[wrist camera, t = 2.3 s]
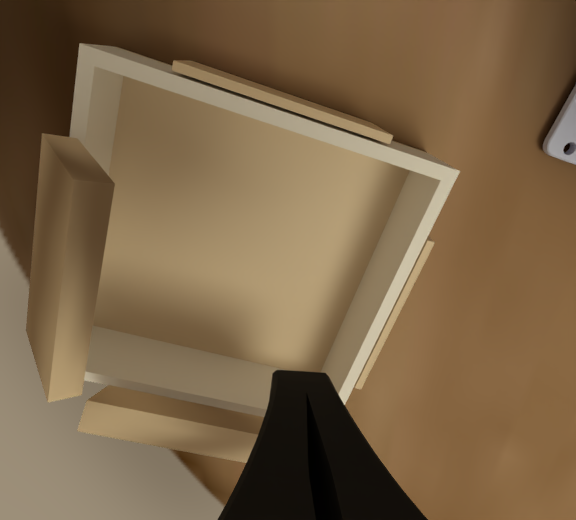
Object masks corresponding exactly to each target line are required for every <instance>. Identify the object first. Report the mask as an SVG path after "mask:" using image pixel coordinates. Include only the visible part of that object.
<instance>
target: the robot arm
mask: <svg viewBox="0 0 576 520" xmlns="http://www.w3.org/2000/svg"><path fill="white" fill-rule="evenodd" d="M568 143H570V147H569V149H568V151H567V152H565V153H564V151H563V149H564V147H565V145H566V144H568ZM543 150H544V152H545V153H546V154H548V155H550V156H553V157H555V158H558V159H561V160H564V161H567V162H569V163H572V164H575V165H576V84H575V86H574V88H573V90H572V92H571V93H570V95H569V97H568V99H567V101H566V102H565V104H564V106H563V108H562V110H561V111H560V113H559V115H558V117H557V118H556V120H555V122H554V124H553V126H552V127H551V129H550V131H549V133H548V135H547V136H546V138H545V140H544V143H543ZM218 520H428V519H427V518H426V517H425V516H424V515H423V514H422V513H421V511H420V510H419V509H418V508H417V507H416V505H415V504H414V503H413V502H412V501H411V499H410V498H409V497H408V496H407V495H406V493H405V492H404V491H403V490H402V488H401V487H400V486H399V485H398V483H397V482H396V481H395V479H394V478H393V477H392V475H391V474H390V473H389V471H388V470H387V469H386V467H385V466H384V465H383V463H382V462H381V461H380V459H379V458H378V456H377V455H376V453H375V452H374V451H373V449H372V448H371V446H370V445H369V443H368V442H367V440H366V439H365V437H364V436H363V434H362V433H361V431H360V429H359V428H358V426H357V425H356V423H355V422H354V420H353V418H352V417H351V415H350V414H349V412H348V410H347V408H346V407H345V405H344V403H343V402H342V400H341V398H340V396H339V395H338V393H337V391H336V389H335V387H334V385H333V384H332V382H331V380H330V378H329V376H328V375H327V374H326V373H322V372H306V371H290V370H276V371H275V372H273V373H272V381H271V389H270V397H269V403H268V407H267V410H266V413H265V416H264V419H263V422H262V425H261V428H260V431H259V434H258V437H257V439H256V442H255V444H254V446H253V449H252V451H251V453H250V456H249V458H248V461H247V463H246V465H245V468H244V470H243V472H242V474H241V476H240V478H239V480H238V482H237V484H236V486H235V488H234V490H233V492H232V494H231V496H230V498H229V500H228V502H227V504H226V506H225V507H224V509H223V511H222V513H221V515H220V516H219V518H218Z"/></svg>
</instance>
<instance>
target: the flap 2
mask: <svg viewBox="0 0 576 520" xmlns="http://www.w3.org/2000/svg"><path fill="white" fill-rule="evenodd" d="M263 419H264V417H261V416H256V415H251V414H247V413H242V412H237V411H232V410H227V409H222V408H218V407H213V406H208V405H203V404H198V403H194V402H189V401H184V400H179V399H174V398H170V397H165V396H160V395H155V394H150V393H145V392H141V391H136V390H131V389H126V388H121V387H117V386H112V385H108V386H107V387H105V388H104V389H103V390H101V391H100V392H98V393H97V394H95V395H94V396H93V397H91V398H90V399H88V400H87V401H86V405H85V408H84V411H83V414H82V417H81V421H80V424H79V427H78V430H77V431H79V432H84V433H89V434H94V435H100V436H105V437H110V438H116V439H121V440H127V441H132V442H137V443H143V444H148V445H153V446H158V447H164V448H169V449H174V450H180V451H185V452H190V453H196V454H201V455H206V456H212V457H217V458H222V459H228V460H233V461H239V462H244V463H247V461H248V458H249V456H250V453H251V451H252V449H253V446H254V444H255V442H256V439H257V437H258V434H259V431H260V428H261V425H262V422H263Z"/></svg>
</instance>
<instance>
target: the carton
mask: <svg viewBox="0 0 576 520" xmlns="http://www.w3.org/2000/svg"><path fill="white" fill-rule="evenodd" d="M69 137H71V138H78V140H79V141H80V142H81V143H82V144H83V146H84V147H85V148H86V149H87V151H88V152H89V153H90V154H91V155H92V157H93V158H94V159H95V160H96V161H97V163H98V164H99V165H100V166H101V167H102V169H103V170H104V171H105V172H106V173H107V175H108V176H109V177H110V178H111V179H112V181H113V182H114V183H115V187H114V193H113V199H112V206H111V212H110V218H109V225H108V231H107V237H106V244H105V250H104V256H103V263H102V269H101V276H100V282H99V288H98V295H97V301H96V307H95V314H94V320H93V326H92V333H91V339H90V345H89V352H88V358H87V364H86V371H85V377H84V380H85V381H90V382H95V383H100V384H104V385H112V386H117V387H121V388H126V389H131V390H136V391H141V392H145V393H150V394H155V395H160V396H165V397H170V398H174V399H179V400H184V401H189V402H194V403H198V404H203V405H208V406H213V407H218V408H222V409H227V410H232V411H237V412H242V413H247V414H251V415H256V416H261V417H264V416H265V413H266V410H267V407H268V403H269V397H270V389H271V381H272V373H273V372H275V371H276V370H290V371H306V372H322V373H326V374H327V375H328V376H329V378H330V380H331V382H332V384H333V385H334V387H335V389H336V391H337V393H338V395H339V396H340V398H341V400H342V402H343V403H344V405H345V403H346V401H347V399H348V397H349V395H350V393H351V391H352V389H353V387H355V388H357V389H361V388H362V386H363V384H364V382H365V380H366V378H367V376H368V374H369V372H370V370H371V368H372V366H373V364H374V362H375V360H376V358H377V356H378V354H379V352H380V351H381V349H382V347H383V345H384V343H385V341H386V339H387V337H388V335H389V333H390V331H391V329H392V327H393V325H394V323H395V321H396V319H397V317H398V315H399V313H400V311H401V309H402V307H403V305H404V303H405V301H406V299H407V297H408V295H409V293H410V291H411V289H412V287H413V285H414V283H415V281H416V279H417V277H418V275H419V273H420V271H421V269H422V267H423V265H424V263H425V261H426V259H427V257H428V255H429V253H430V251H431V249H432V247H433V245H434V243H435V242H434V241H433V240H432V239H431V238H430V237H429V236H428V235H429V233H430V231H431V229H432V227H433V225H434V223H435V221H436V219H437V217H438V215H439V213H440V211H441V209H442V207H443V205H444V203H445V201H446V198H447V196H448V194H449V192H450V190H451V188H452V186H453V184H454V182H455V180H456V178H457V176H458V174H459V172H460V171H459V170H457V169H455V168H453V167H452V166H450V165H448V164H446V163H445V162H443V161H441V160H439V159H438V158H436V157H434V156H432V155H431V154H429V153H427V152H425V151H422V150H419V149H416V148H413V147H410V146H407V145H404V144H401V143H398V142H395V141H392V138H393V135H391V134H390V133H388V132H386V131H385V130H383V129H381V128H380V127H378V126H376V125H375V124H373V123H371V122H368V121H365V120H362V119H360V118H357V117H354V116H351V115H348V114H345V113H342V112H339V111H336V110H333V109H331V108H328V107H325V106H322V105H319V104H316V103H313V102H310V101H307V100H304V99H302V98H299V97H296V96H293V95H290V94H287V93H284V92H281V91H278V90H275V89H273V88H270V87H267V86H264V85H261V84H258V83H255V82H252V81H249V80H247V79H244V78H241V77H238V76H235V75H232V74H229V73H226V72H223V71H220V70H218V69H215V68H212V67H209V66H206V65H203V64H200V63H197V62H194V61H191V60H173V65H169V64H166V63H163V62H160V61H157V60H155V59H152V58H149V57H146V56H143V55H140V54H137V53H134V52H131V51H128V50H125V49H122V48H119V47H115V46H104V45H94V44H83V43H79V52H78V62H77V71H76V80H75V90H74V99H73V108H72V118H71V127H70V136H69Z"/></svg>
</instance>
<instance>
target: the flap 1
mask: <svg viewBox="0 0 576 520" xmlns="http://www.w3.org/2000/svg"><path fill="white" fill-rule="evenodd" d="M114 187H115V183H114V182H113V181H112V179H111V178H110V177H109V176H108V175H107V173H106V172H105V171H104V170H103V169H102V167H101V166H100V165H99V164H98V163H97V161H96V160H95V159H94V158H93V157H92V155H91V154H90V153H89V152H88V151H87V149H86V148H85V147H84V146H83V144H82V143H81V142H80V141H79V140H78V138H71V137H65V136H58V135H51V134H44V133H42V140H41V152H40V165H39V177H38V189H37V201H36V214H35V226H34V238H33V251H32V263H31V275H30V288H29V300H28V312H27V324H26V331H27V335H28V338H29V342H30V345H31V348H32V352H33V355H34V358H35V361H36V365H37V368H38V372H39V375H40V378H41V381H42V385H43V388H44V391H45V395H46V398H47V401H48V402H53V401H57V400H61V399H66V398H71V397H75V396H80V395H82V389H83V383H84V377H85V371H86V364H87V358H88V352H89V345H90V339H91V333H92V326H93V320H94V314H95V307H96V301H97V295H98V288H99V282H100V276H101V269H102V263H103V256H104V250H105V244H106V237H107V231H108V225H109V218H110V212H111V206H112V199H113V193H114Z"/></svg>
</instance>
